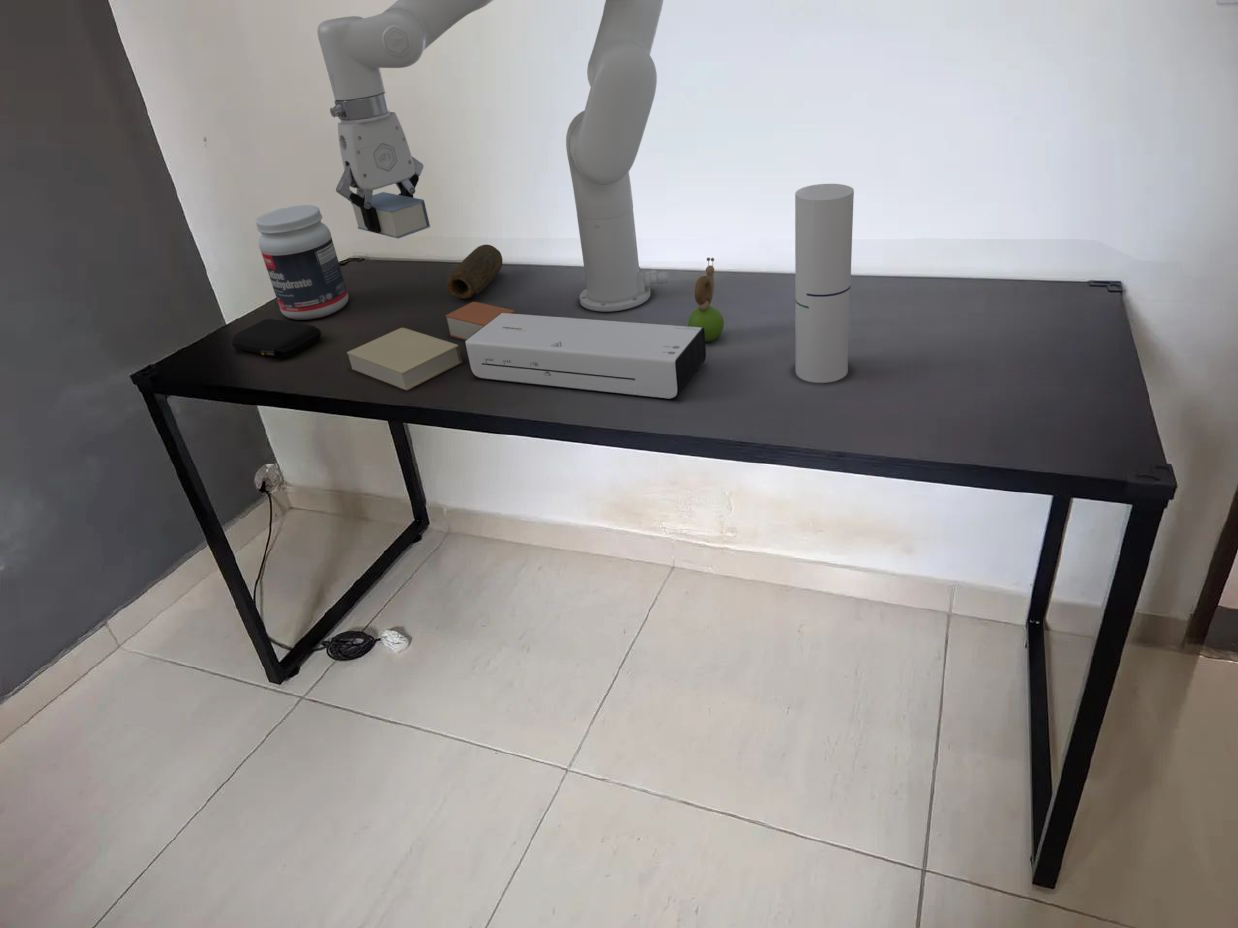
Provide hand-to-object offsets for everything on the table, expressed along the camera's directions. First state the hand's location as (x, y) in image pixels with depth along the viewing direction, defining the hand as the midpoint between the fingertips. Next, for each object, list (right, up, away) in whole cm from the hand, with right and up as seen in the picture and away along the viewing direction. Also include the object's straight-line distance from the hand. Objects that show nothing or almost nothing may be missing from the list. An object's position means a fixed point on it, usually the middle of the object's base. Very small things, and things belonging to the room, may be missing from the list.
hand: (392, 224), depth 141 cm
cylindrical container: (+65, -26, -19) cm, 73 cm away
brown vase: (+10, -6, +25) cm, 28 cm away
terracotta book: (+14, -17, +6) cm, 23 cm away
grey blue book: (0, 0, 0) cm, 1 cm away
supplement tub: (-21, -10, +25) cm, 34 cm away
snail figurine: (+51, -20, -6) cm, 55 cm away
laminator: (+32, -25, -11) cm, 42 cm away
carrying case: (-23, -19, +11) cm, 32 cm away
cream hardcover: (+3, -23, -2) cm, 23 cm away
